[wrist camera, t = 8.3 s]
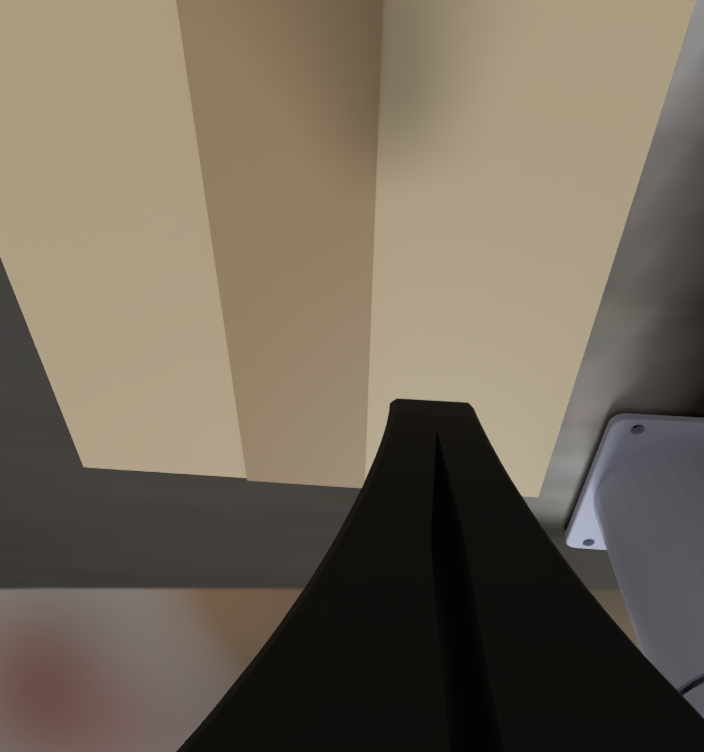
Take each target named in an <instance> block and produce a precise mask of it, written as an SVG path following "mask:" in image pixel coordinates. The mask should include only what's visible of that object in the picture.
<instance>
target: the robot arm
mask: <svg viewBox="0 0 704 752" xmlns="http://www.w3.org/2000/svg"><path fill="white" fill-rule="evenodd" d="M635 425H640V426H638V427H636V428H632V427H633V426H635ZM565 541H566V543H567V545H568V546H570V547H574V548H586V549H600V550H607V552H608V555H609V558H610V561H611V564H612V567H613V570H614V573H615V576H616V579H617V582H618V584H619V587H620V590H621V593H622V596H623V599H624V602H625V605H626V608H627V611H628V614H629V617H630V620H631V623H632V626H633V629H634V632H635V635H636V638H637V641H638V644H639V647H640V650H641V651H640V650H639V649H638V648H637V647H636V646H635V645H634V644H633V643H632V641H631V640H630V639H629V638H628V637H627V635H626V634H625V633H624V632H623V631H622V630H621V628H619V626H618V625H617V624H616V623H615V622H614V620H613V619H612V618H611V617H610V616H609V615H608V613H607V612H606V611H605V610H604V609H603V607H602V606H601V605H600V604H599V602H598V601H597V600H596V599H595V597H594V596H593V595H592V594H591V593H590V591H589V590H588V589H587V588H586V586H585V585H584V584H583V583H582V581H581V580H580V579H579V577H578V576H577V575H576V574H575V572H574V571H573V570H572V568H571V567H570V566H569V564H568V563H567V562H566V560H565V559H564V558H563V556H562V555H561V554H560V552H559V551H558V549H557V548H556V546H555V545H554V544H553V542H552V541H551V539H550V538H549V537H548V535H547V534H546V532H545V531H544V529H543V528H542V527H541V525H540V524H539V522H538V521H537V519H536V518H535V516H534V515H533V513H532V512H531V510H530V509H529V507H528V505H527V504H526V502H525V501H524V499H523V497H522V496H521V494H520V493H519V491H518V489H517V488H516V486H515V485H514V483H513V481H512V480H511V478H510V477H509V475H508V473H507V471H506V470H505V468H504V466H503V465H502V463H501V461H500V459H499V458H498V456H497V454H496V452H495V450H494V448H493V447H492V445H491V443H490V441H489V439H488V437H487V435H486V433H485V431H484V429H483V427H482V425H481V423H480V421H479V419H478V417H477V415H476V412H475V410H474V408H473V407H472V406H471V405H470V404H469V403H467V402H450V401H432V400H415V399H398V398H397V399H395V400H394V401H392V402H391V403H390V406H389V415H388V419H387V424H386V427H385V431H384V434H383V437H382V440H381V443H380V446H379V448H378V451H377V454H376V456H375V459H374V461H373V463H372V466H371V468H370V470H369V473H368V475H367V477H366V480H365V482H364V484H363V486H362V489H361V491H360V493H359V495H358V497H357V499H356V501H355V503H354V504H353V506H352V508H351V510H350V512H349V514H348V516H347V518H346V520H345V522H344V524H343V525H342V527H341V529H340V531H339V533H338V535H337V536H336V538H335V540H334V542H333V543H332V545H331V547H330V549H329V550H328V552H327V554H326V555H325V557H324V559H323V560H322V562H321V563H320V565H319V567H318V568H317V570H316V571H315V573H314V574H313V576H312V578H311V579H310V581H309V582H308V584H307V585H306V587H305V588H304V590H303V591H302V593H301V594H300V596H299V597H298V599H297V600H296V601H295V603H294V605H293V606H292V607H291V609H290V610H289V612H288V613H287V614H286V616H285V617H284V619H283V620H282V622H281V623H280V625H279V626H278V627H277V629H276V630H275V631H274V633H273V634H272V636H271V637H270V638H269V640H268V641H267V642H266V644H265V645H264V646H263V648H262V649H261V650H260V652H259V653H258V654H257V655H256V657H255V658H254V659H253V661H252V662H251V663H250V664H249V665H248V667H247V668H246V669H245V670H244V672H243V673H242V674H241V675H240V677H239V678H238V679H237V680H236V682H235V683H234V684H233V685H232V687H231V688H230V689H229V690H228V692H227V693H226V694H225V695H224V697H223V698H222V699H221V700H220V702H219V703H218V704H217V705H216V707H215V708H214V709H213V710H212V712H211V713H210V714H209V715H208V717H206V719H205V720H204V721H203V722H202V723H201V725H200V726H199V727H198V728H197V729H196V731H194V733H193V734H192V735H191V736H190V737H189V738H188V739H187V740H186V741H185V743H184V744H183V745H182V746H181V747H180V748H179V749H178V750H177V752H704V418H700V417H683V416H665V415H648V414H631V413H622V414H618V415H615V416H614V417H612V418H611V419H610V421H609V422H608V424H607V427H606V430H605V432H604V435H603V437H602V440H601V443H600V445H599V448H598V450H597V453H596V455H595V458H594V461H593V463H592V466H591V468H590V471H589V473H588V476H587V479H586V481H585V484H584V486H583V489H582V491H581V494H580V497H579V499H578V502H577V504H576V507H575V509H574V512H573V515H572V517H571V520H570V522H569V525H568V527H567V530H566V533H565Z"/></svg>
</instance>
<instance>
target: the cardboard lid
mask: <svg viewBox="0 0 704 752" xmlns="http://www.w3.org/2000/svg"><path fill="white" fill-rule="evenodd" d="M696 1H697V0H0V257H1V260H2V262H3V265H4V267H5V270H6V273H7V275H8V278H9V280H10V283H11V285H12V288H13V290H14V293H15V295H16V298H17V300H18V303H19V305H20V308H21V310H22V313H23V315H24V318H25V320H26V323H27V325H28V328H29V331H30V333H31V336H32V338H33V341H34V343H35V346H36V348H37V351H38V353H39V356H40V358H41V361H42V363H43V366H44V368H45V371H46V373H47V376H48V378H49V381H50V384H51V386H52V389H53V391H54V394H55V396H56V399H57V401H58V404H59V406H60V409H61V411H62V414H63V416H64V419H65V421H66V424H67V426H68V429H69V431H70V434H71V437H72V439H73V442H74V444H75V447H76V449H77V452H78V454H79V457H80V459H81V462H82V464H83V467H89V468H104V469H119V470H134V471H149V472H164V473H179V474H194V475H209V476H224V477H239V478H247V481H262V482H277V483H292V484H307V485H322V486H337V487H352V488H362V486H363V484H364V482H365V480H366V477H367V475H368V473H369V470H370V468H371V466H372V463H373V461H374V459H375V456H376V454H377V451H378V448H379V446H380V443H381V440H382V437H383V434H384V431H385V427H386V424H387V419H388V415H389V406H390V403H391V402H392V401H394V400H395V399H397V398H398V399H415V400H432V401H450V402H467V403H469V404H470V405H471V406H472V407H473V408H474V410H475V412H476V415H477V417H478V419H479V421H480V423H481V425H482V427H483V429H484V431H485V433H486V435H487V437H488V439H489V441H490V443H491V445H492V447H493V448H494V450H495V452H496V454H497V456H498V458H499V459H500V461H501V463H502V465H503V466H504V468H505V470H506V471H507V473H508V475H509V477H510V478H511V480H512V481H513V483H514V485H515V486H516V488H517V489H518V491H519V493H520V494H521V496H525V497H539V494H540V490H541V487H542V484H543V481H544V478H545V475H546V472H547V468H548V465H549V462H550V459H551V456H552V453H553V450H554V446H555V443H556V440H557V437H558V434H559V431H560V428H561V424H562V421H563V418H564V415H565V412H566V409H567V406H568V403H569V399H570V396H571V393H572V390H573V387H574V384H575V381H576V377H577V374H578V371H579V368H580V365H581V362H582V359H583V355H584V352H585V349H586V346H587V343H588V340H589V337H590V333H591V330H592V327H593V324H594V321H595V318H596V315H597V312H598V308H599V305H600V302H601V299H602V296H603V293H604V290H605V286H606V283H607V280H608V277H609V274H610V271H611V268H612V264H613V261H614V258H615V255H616V252H617V249H618V246H619V242H620V239H621V236H622V233H623V230H624V227H625V224H626V221H627V217H628V214H629V211H630V208H631V205H632V202H633V199H634V195H635V192H636V189H637V186H638V183H639V180H640V177H641V173H642V170H643V167H644V164H645V161H646V158H647V155H648V151H649V148H650V145H651V142H652V139H653V136H654V133H655V130H656V126H657V123H658V120H659V117H660V114H661V111H662V108H663V104H664V101H665V98H666V95H667V92H668V89H669V86H670V82H671V79H672V76H673V73H674V70H675V67H676V64H677V60H678V57H679V54H680V51H681V48H682V45H683V42H684V39H685V35H686V32H687V29H688V26H689V23H690V20H691V17H692V13H693V10H694V7H695V4H696Z"/></svg>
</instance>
